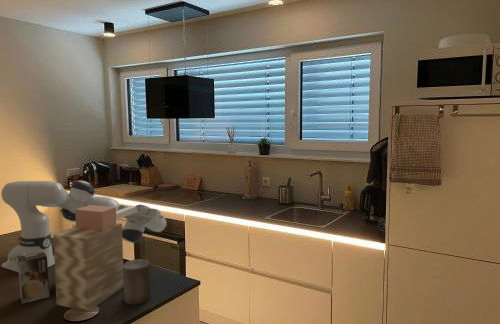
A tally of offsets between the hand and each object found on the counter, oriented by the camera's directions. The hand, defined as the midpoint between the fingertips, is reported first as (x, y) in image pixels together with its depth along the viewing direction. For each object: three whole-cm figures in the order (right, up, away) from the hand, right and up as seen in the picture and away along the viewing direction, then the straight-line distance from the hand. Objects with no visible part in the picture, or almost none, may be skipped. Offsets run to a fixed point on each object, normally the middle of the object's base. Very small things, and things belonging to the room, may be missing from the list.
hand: (130, 207), depth 164 cm
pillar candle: (+10, -32, -24) cm, 41 cm away
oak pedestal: (-8, -31, -21) cm, 38 cm away
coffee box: (-28, -31, -23) cm, 48 cm away
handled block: (-3, -4, -11) cm, 12 cm away
